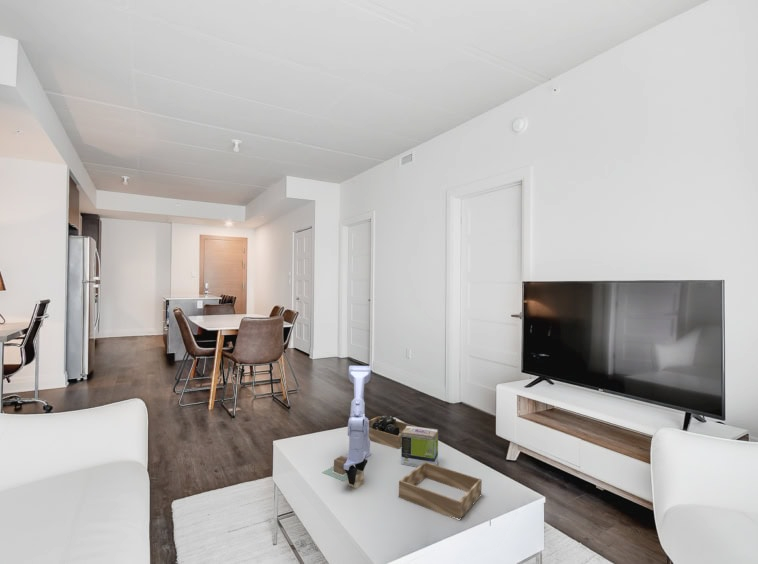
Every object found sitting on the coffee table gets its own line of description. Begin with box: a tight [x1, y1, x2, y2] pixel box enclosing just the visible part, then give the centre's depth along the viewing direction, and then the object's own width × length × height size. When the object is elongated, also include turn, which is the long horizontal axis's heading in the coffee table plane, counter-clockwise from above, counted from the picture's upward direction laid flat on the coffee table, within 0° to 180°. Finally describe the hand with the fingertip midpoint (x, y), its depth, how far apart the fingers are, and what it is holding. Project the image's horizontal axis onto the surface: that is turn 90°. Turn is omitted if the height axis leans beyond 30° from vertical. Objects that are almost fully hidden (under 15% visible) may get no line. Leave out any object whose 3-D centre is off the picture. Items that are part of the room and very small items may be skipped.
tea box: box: [400, 425, 439, 468], centre depth 178 cm, size 15×10×15 cm
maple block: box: [346, 470, 364, 489], centre depth 157 cm, size 4×4×5 cm
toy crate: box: [398, 462, 483, 519], centre depth 150 cm, size 21×25×6 cm
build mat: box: [321, 465, 348, 482], centre depth 167 cm, size 12×12×1 cm
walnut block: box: [333, 455, 348, 475], centre depth 167 cm, size 5×5×5 cm
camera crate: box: [368, 416, 418, 450], centre depth 207 cm, size 19×25×6 cm
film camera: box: [372, 415, 400, 436], centre depth 207 cm, size 18×12×10 cm
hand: (355, 480), depth 157 cm, fingers closed on maple block, 5 cm apart
